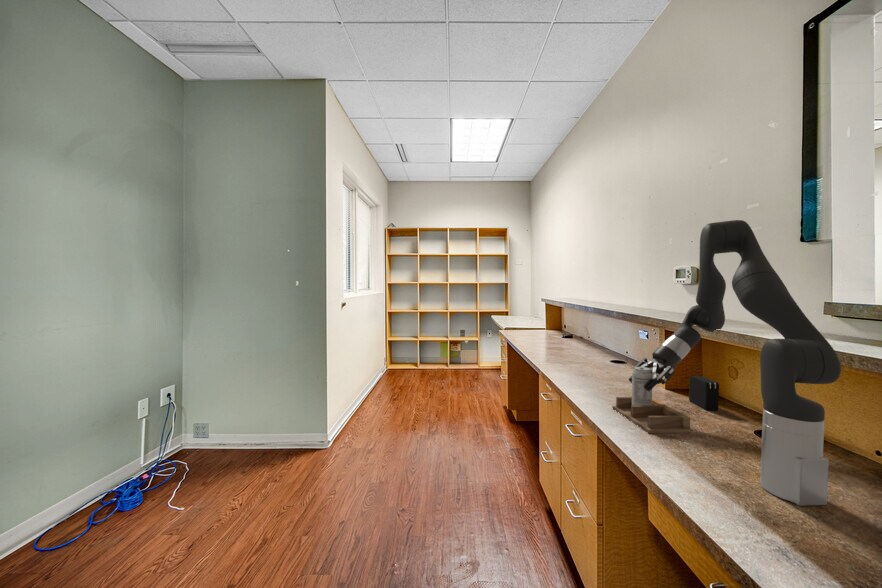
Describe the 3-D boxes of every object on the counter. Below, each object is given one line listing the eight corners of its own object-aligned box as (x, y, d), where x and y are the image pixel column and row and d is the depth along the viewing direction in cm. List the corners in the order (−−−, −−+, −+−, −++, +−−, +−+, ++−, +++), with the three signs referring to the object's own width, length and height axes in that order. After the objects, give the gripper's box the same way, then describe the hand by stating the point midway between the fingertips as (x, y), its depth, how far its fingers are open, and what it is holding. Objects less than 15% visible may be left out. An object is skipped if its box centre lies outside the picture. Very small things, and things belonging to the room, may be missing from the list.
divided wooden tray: (689, 432, 105) (690, 416, 105) (648, 433, 104) (648, 417, 104) (647, 408, 125) (647, 395, 125) (612, 408, 124) (612, 395, 124)
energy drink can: (652, 410, 120) (652, 367, 119) (651, 416, 115) (651, 371, 114) (632, 407, 123) (632, 365, 122) (631, 412, 118) (631, 369, 117)
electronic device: (700, 401, 132) (701, 375, 132) (718, 411, 123) (719, 383, 122) (688, 401, 133) (689, 375, 133) (705, 410, 123) (706, 382, 123)
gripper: (650, 340, 125) (618, 372, 125) (679, 348, 111) (643, 383, 111) (664, 355, 126) (632, 386, 126) (694, 364, 112) (659, 400, 111)
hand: (637, 385), depth 118 cm, fingers open, 8 cm apart
